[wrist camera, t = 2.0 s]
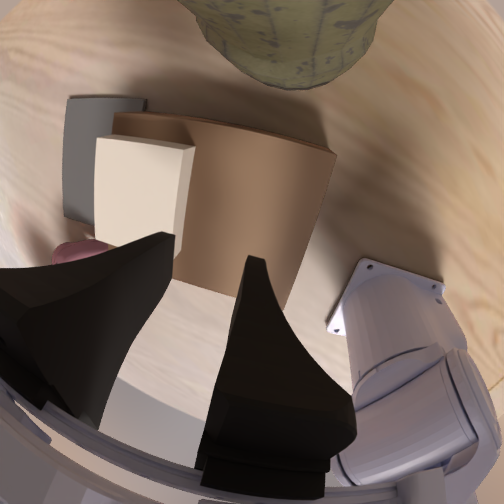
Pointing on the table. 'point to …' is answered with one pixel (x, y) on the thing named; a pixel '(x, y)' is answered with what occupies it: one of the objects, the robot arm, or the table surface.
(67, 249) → the video game controller
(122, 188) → the white block
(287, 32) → the thermos
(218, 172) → the wooden tray block
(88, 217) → the mat
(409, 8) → the table surface
